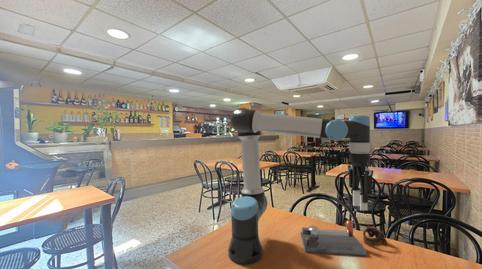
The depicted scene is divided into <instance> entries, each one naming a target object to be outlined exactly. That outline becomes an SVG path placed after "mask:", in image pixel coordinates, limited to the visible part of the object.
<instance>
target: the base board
mask: <svg viewBox="0 0 482 269" xmlns="http://www.w3.org/2000/svg"><path fill="white" fill-rule="evenodd" d="M306 237H309V243H307V242H306ZM300 238H301V241H302V245H303V246H302V247H303V249H304V252H305V253H314V254H329V255H344V256H345V255H346V256H357V257H358V256H362V257H367V250H365V248H364V246H363V245H362V244H361V242H360V241H359V240H358V239H357V238H356V237H355V235H354V234H353V237H349V236H338V235H319V240H318V241H317V236H316V235H303V233H302V231H300Z"/></svg>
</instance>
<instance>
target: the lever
mask: <svg viewBox="0 0 482 269" xmlns="http://www.w3.org/2000/svg"><path fill="white" fill-rule="evenodd" d="M301 230H302V231H301V232H302V233H303V235H316V236H317V241H318V240H319V235H338V236H349V237H353V235H354V222H353V221H352V220H349V219H347V220H346V229H345V230H343V229H326V228H325V229H322V228H319V227H318V226H314V225H310V226H308V227H301Z"/></svg>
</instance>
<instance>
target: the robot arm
mask: <svg viewBox="0 0 482 269" xmlns="http://www.w3.org/2000/svg"><path fill="white" fill-rule="evenodd" d="M229 122H230V123H229V124H230V125H231V128H232V129H233V130H234V131H236V133H237V138H238V139H239V140H240V144H241V159H242V160H241V161H242V175H243V177H242V178H243V188H242V189H241V191H240V192H241V196H240V197H237V198H235V199H234V200H233V201H232V202H231V208H230V213H231V216H230V217H231V238H230V242H229V245H228V250H227V254H228V257H229V259H230V260H231V261H232V260H233V261H232V262H234V263H236V264H239V265H250V264H254V263H257V262H259V261H260V260H261V259H262V257H263V256H264V252H263V250H264V248H263V246H262V243H261V239H260V237H259V221H260V219H261V218H262V216H263V214H265V212H266V210H267V207H268V199H267V196H266V193H265V189H264V187H262V180H261V178H262V177H261V164H260V163H261V162H260V148H259V138H260V137H261V136H262V132H264V133H265V132H267V133H273V134H275V133H277V134H281V135H282V134H284V135H291V136H292V135H293V136H300V137H309V138H317V139H325V140H326V139H327V140H331V141H338V142H339V141H341V140H343V139H349V143H348V144H349V146H348V148H349V149H348V150H349V162H351V164H348V165H347V170H348V187H349V188H350V189H351V190H352V206H353V207H359V210H360V211H368V209H369V208H368V207H369V206H368V203H369V196H370V195H372V194H373V175H374V170H373V169H370V168H369V166H368V163H370V162H371V153H370V152H371V144H370V143H371V138H370V137H371V122H370V117H369V116H368V115H364V114H363V115H350V116H349V118H348V120H341V119H336V118H335V119H329V118H327V119H326V118H320V117H319V118H318V117H317V118H316V117H308V116H307V117H305V116H298V115H297V116H295V115H284V114H276V113H275V114H273V113H263V112H260V111H259V110H255V109H252V108H251V109H250V108H247V107H238V108H236V109H234V110H233V111H232V112H231V114H230V117H229Z"/></svg>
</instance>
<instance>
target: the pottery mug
mask: <svg viewBox="0 0 482 269" xmlns="http://www.w3.org/2000/svg"><path fill="white" fill-rule="evenodd" d="M366 233H367V235H368V236H367V235H366ZM362 234H363V235H362V236H363V237H362V240H363V243H365V244H369V245H377V244H381V245H382V244H383V242H384V243H385V245H386V246H388V241H387V239H386V236H385V234H384V232H382V231H381V230H380V229H378V228H377V227H374V226H371V225H367V226H366V228H365V229H364V230H363V232H362Z"/></svg>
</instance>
